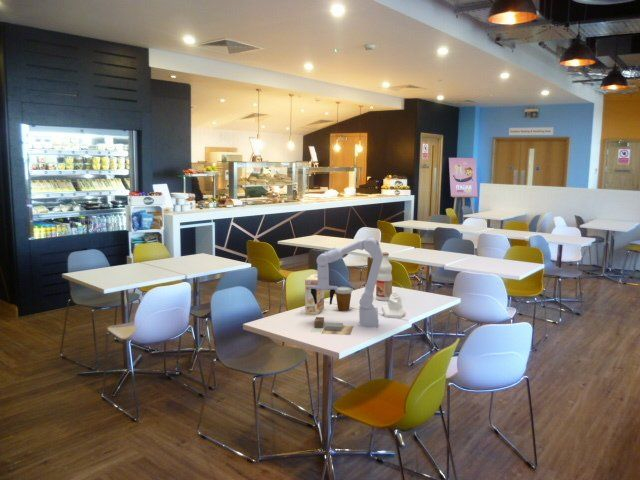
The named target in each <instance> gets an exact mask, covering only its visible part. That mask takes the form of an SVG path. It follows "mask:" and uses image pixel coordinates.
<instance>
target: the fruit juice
mask: <svg viewBox="0 0 640 480" xmlns="http://www.w3.org/2000/svg"><path fill="white" fill-rule="evenodd" d="M382 254H383V259H382V262H381V266H380V270H379V273H378V277H377V281H376V285H375V288H376V289H375V298H376V300H377V301H381V302H388V301H389V298H390V295H391V294H392V293H393V274H392V270H393V266H392V264H391V262H390V261H389V255H390V254H389V252H382Z"/></svg>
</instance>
